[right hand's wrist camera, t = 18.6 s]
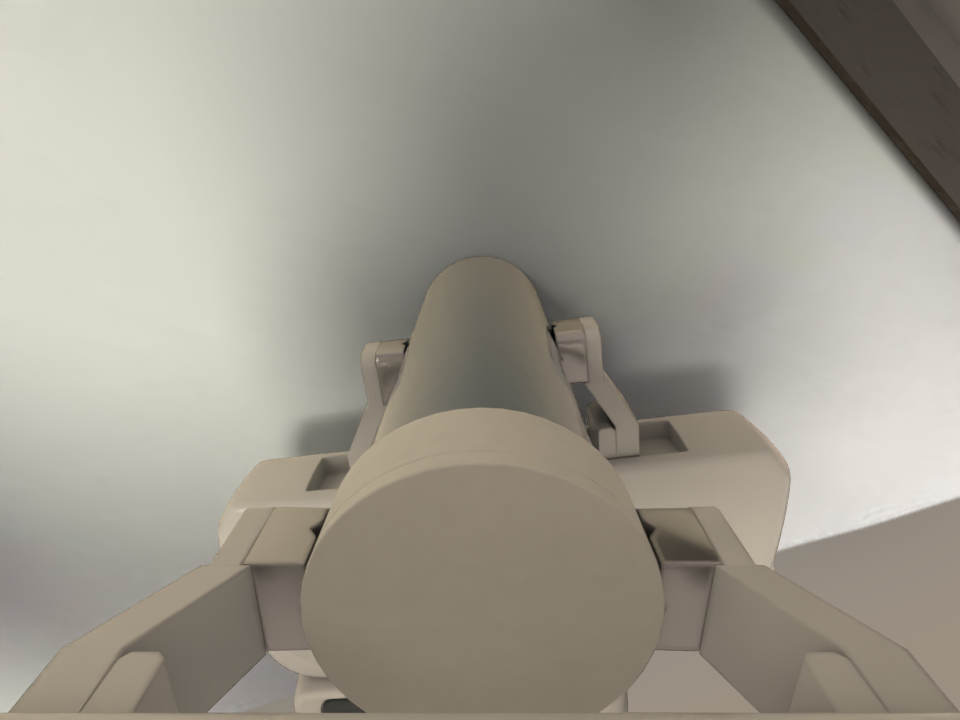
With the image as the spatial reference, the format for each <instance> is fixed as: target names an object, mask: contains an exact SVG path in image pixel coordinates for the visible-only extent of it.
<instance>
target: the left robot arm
mask: <svg viewBox="0 0 960 720" xmlns="http://www.w3.org/2000/svg"><path fill="white" fill-rule="evenodd" d="M550 330H551V333H552V336H553V338H554V341H555V344H556V347H557V349H558V352H559V355H560V358H561V360H562V363H563V366H564V369H565V371H566V374H567V377H568V379H569V382H570V384H571V383H582V382H584V384H585V386H586V387H587V388H588V390H589V391H590V393H591V394H592V395H593V397H594V398H595V399H596V401H597V402H592V403H590V404H589V405H588V422H589V425H585V426H586V429H587V432H588V434H589V437H590V440H591V443H592V445H593V447H595V448H596V449H597V450H598V451H599V452H600V453H601V454H602V455H603V456H604V457H605V458H606V459H607V460H608V461H609V462H610V463H611V465H612V466H613V468H614V469H615V470H616V472H617V473H618V475H619V476H620V478H621V479H622V481H623V483H624V485H625V487H626V489H627V491H628V493H629V495H630V498H631V500H632V502H633V505H634V507H635V508H688V507H710V506H715V507H716V508H718V509H719V510H720V511H721V513H722V514H723V516H724V517H725V519H726V520H727V522H728V523H729V525H730V526H731V528H732V529H733V531H734V532H735V534H736V535H737V537H738V538H739V540H740V541H741V543H742V544H743V546H744V547H745V549H746V550H747V552H748V553H749V555H750V556H751V558H752V559H753V561H754V562H755V564H756V565H765V566H767V567H769V568H770V569H772V570H774V559H775V555H776V552H777V548H778V545H779V541H780V537H781V532H782V528H783V524H784V519H785V514H786V509H787V504H788V498H789V491H790V481H791V479H790V470H789V467H788V465H787V463H786V461H785V459H784V457H783V456H782V455H781V453H780V452H779V451H778V449H777V448H776V447H775V446H774V445H773V444H772V442H771V441H770V440H769V439H768V438H767V437H766V436H765V435H764V434H763V433H762V432H761V431H760V430H759V429H758V428H756V427H755V426H754V425H753V424H752V423H751V422H749V421H748V420H747V419H746V418H745V417H743V416H742V415H741V414H739V413H738V412H735V411H731V410H723V411H712V412H703V413H694V414H685V415H676V416H667V417H658V418H649V419H639V420H636V418H635V417H634V415H633V413H632V411H631V409H630V407H629V406H628V404H627V402H626V400H625V398H624V397H623V396H622V394H621V393H620V391H619V390H618V389H617V387H616V386H615V385H614V383H613V382H612V380H611V379H610V378H609V376H608V375H607V374H606V372H605V371H604V370H603V364H602V345H601V335H600V330H599V326H598V324H597V323H596V321H595V320H594V318H593V317H583V318H574V319H567V320H559V321H551V322H550ZM408 344H409V339H400V340H390V341H377V342H371V343H367V344H366V346H365V348H364V349H363V351H362V353H361V369H362V374H363V379H364V383H365V388H366V393H367V397H368V403H367V406H366V408H365V411H364V413H363V416H362V418H361V421H360V423H359V426H358V429H357V431H356V434H355V436H354V439H353V442H352V444H351V447H350V449H349V451H344V452H335V453H326V454H316V455H307V456H298V457H289V458H278V459H269V460H265V461H262V462H260V463H259V464H257V465H256V466H255V467H254V468H253V469H252V471H251V472H250V473H249V474H248V476H247V477H246V478H245V480H244V481H243V482H242V483H241V485H240V486H239V487H238V489H237V490H236V492H235V493H234V495H233V496H232V498H231V500H230V501H229V503H228V505H227V506H226V508H225V510H224V512H223V515H222V517H221V519H220V522H219V526H218V540H219V546H220V548H221V547H222V545H223V544H224V542H225V541H226V539H227V537H228V536H229V534H230V533H231V531H232V530H233V528H234V527H235V525H236V523H237V522H238V520H239V519H240V517H241V516H242V514H243V512H244V511H245V510H246V509H248V508H250V507H311V508H331V505H332V503H333V500H334V498H335V496H336V494H337V491H338V489H339V487H340V485H341V482H342V481H343V479H344V478H345V476H346V475H347V473H348V472H349V470H350V469H351V467H352V466H353V465H354V464H355V463H356V461H357V460H358V459H359V458H360V457H361V456H362V455H363V454H364V453H365V452H366V451H367V450H368V449H369V448H370V447H372V445H373V442H374V439H375V436H376V434H377V431H378V428H379V425H380V422H381V420H382V417H383V414H384V411H385V408H386V406H387V403H388V400H389V397H390V394H391V392H392V389H393V386H394V383H395V381H396V378H397V375H398V372H399V369H400V367H401V364H402V361H403V358H404V355H405V353H406V350H407V347H408ZM267 652H268V653H269V654H270V655H271V656H272V657H273V659H274V660H276V661H277V662H278V663H279V664H281V665H282V666H284V667H285V668H287V669H289V670H291V671H293V672H295V673H298V674H299V676H298V681H297V686H296V691H295V696H294V710H295V713H366V712H365V711H363V710H362V709H361V708H359V707H358V706H357V705H355V704H354V703H352V702H351V701H350V700H349V699H348V698H347V697H346V696H344V695H343V694H342V693H341V692H340V691H339V690H338V689H337V688H336V687H335V686H334V685H333V683H332V682H331V681H330V680H329V679H328V677H327V676H326V675H325V674H324V672H323V671H322V669H321V668H320V666H319V664H318V663H317V661H316V659H315V658H314V656H313V654H312V651H311V650H292V651H267ZM599 713H628V701H627V690H626V691H625V692H624V693H623V694H622V695H621V696H620V697H619V698H618V699H617V700H616V701H614V702H613V703H612V704H610V705H609V706H608V707H606V708H605V709H604V710H603V711H601V712H599Z"/></svg>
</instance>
